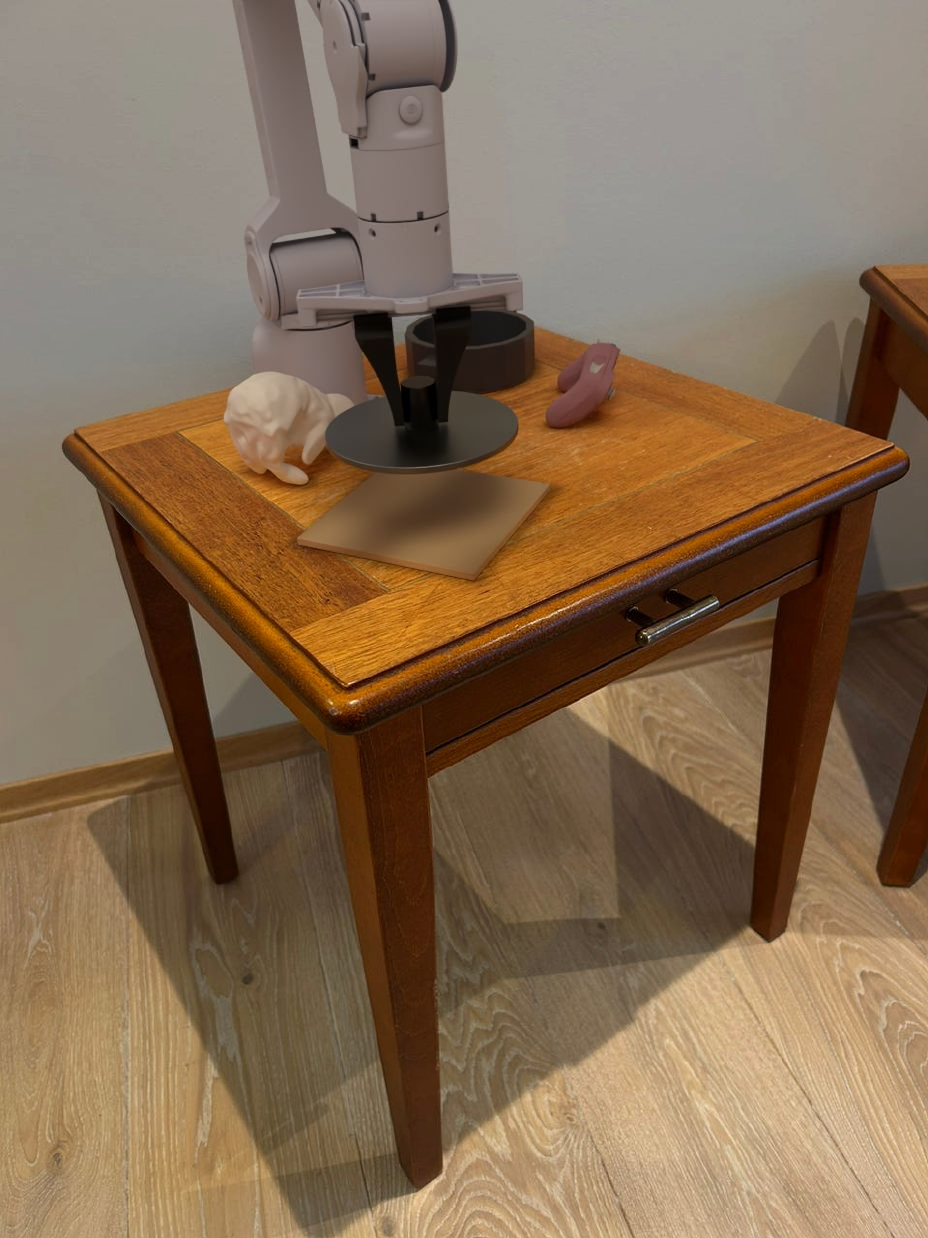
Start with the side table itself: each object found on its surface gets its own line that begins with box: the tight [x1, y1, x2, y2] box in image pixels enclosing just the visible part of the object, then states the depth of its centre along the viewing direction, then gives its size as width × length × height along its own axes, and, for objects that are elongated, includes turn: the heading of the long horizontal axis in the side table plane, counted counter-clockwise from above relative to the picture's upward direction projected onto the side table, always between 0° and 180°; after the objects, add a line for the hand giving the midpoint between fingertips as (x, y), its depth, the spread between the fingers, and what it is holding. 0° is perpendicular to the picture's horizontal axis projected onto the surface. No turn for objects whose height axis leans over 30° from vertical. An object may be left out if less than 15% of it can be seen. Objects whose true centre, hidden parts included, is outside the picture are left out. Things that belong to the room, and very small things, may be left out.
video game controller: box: [544, 338, 621, 429], centre depth 86 cm, size 10×5×7 cm, turn 168°
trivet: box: [296, 468, 551, 582], centre depth 72 cm, size 14×14×1 cm
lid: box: [325, 376, 520, 474], centre depth 67 cm, size 14×14×4 cm
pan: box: [404, 308, 536, 395], centre depth 96 cm, size 13×18×4 cm
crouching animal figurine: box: [222, 372, 355, 486], centre depth 79 cm, size 6×8×12 cm
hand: (420, 419), depth 68 cm, fingers closed on lid, 2 cm apart
